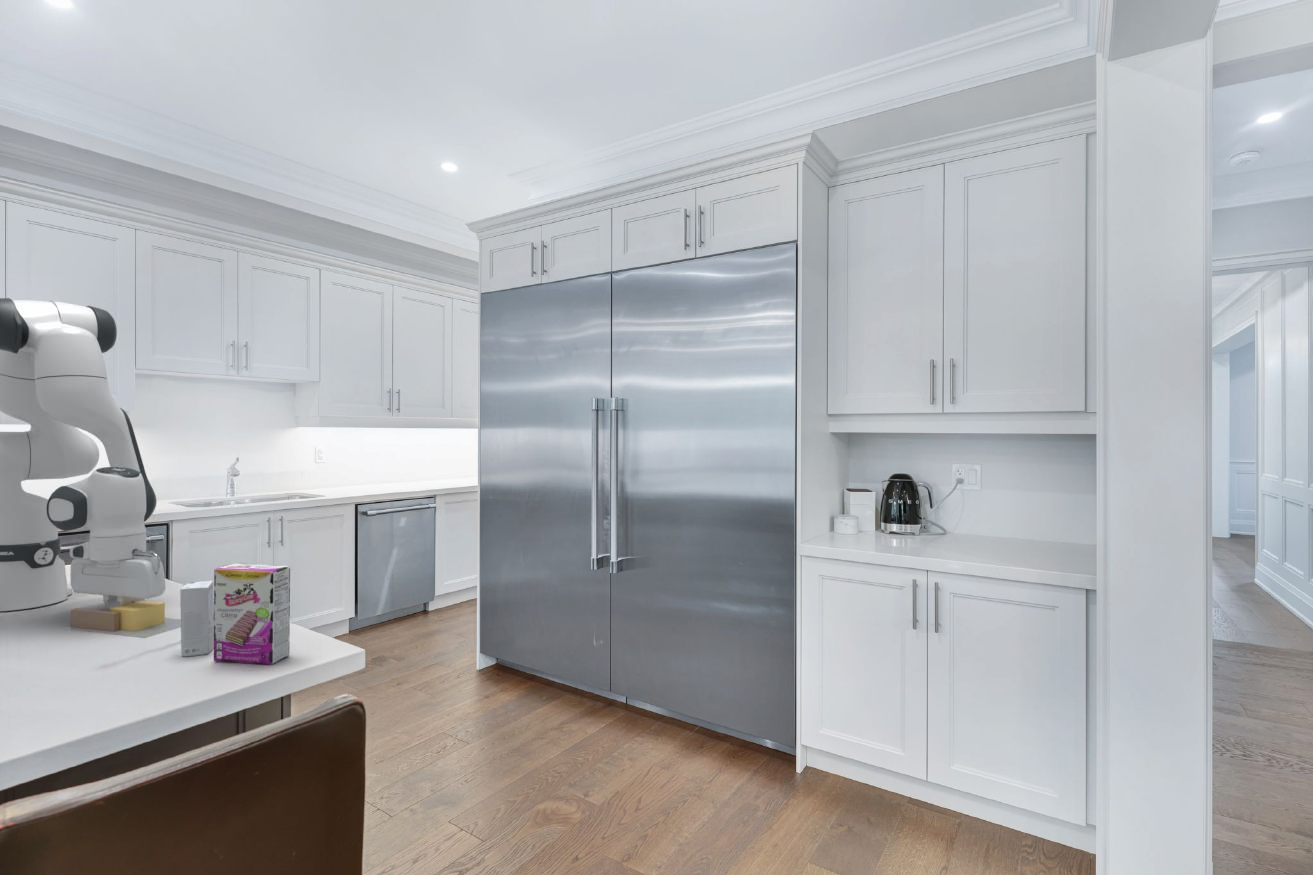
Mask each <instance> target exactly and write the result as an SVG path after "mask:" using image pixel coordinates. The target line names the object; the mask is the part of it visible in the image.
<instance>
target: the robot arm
mask: <svg viewBox="0 0 1313 875" xmlns="http://www.w3.org/2000/svg"><path fill="white" fill-rule="evenodd" d="M117 331H118V330H117V323H116V320H115V319H114V317H113V316H112V314H110V313H109V311H108V310H104V309H102V308H100V307H95V306H92V305H87V306H84V305H80V304H75V303H74V304H73V303H68V302H62V301H56V300H55V301H54V300H49V301H47V300H46V301H45V300H33V299H11V298H10V297H1V298H0V412H1V413H3V414H5V415H6V416H9V417H11V418H14V419H17V420H19V421H23V422H25V423H27V424H28V425H30V429H29V430H28V431H26V430H25V431H0V612H8V611H10V612H11V611H20V610H27V609H33V608H39V607H43V606H49V605H53V604H56V603H60V602H62V601H65V600H67V599H68V596H70V595H72V594H73V592H74V593H77V594H85V595H86V594H87V595H99V596H102V601H103V603H104V604H105V606H106V608H107V611H110V612H111V608H114V607H118V606H122V605H126V604H130V603H132V601H133V598H141V599H145V600H149V599H154V598H157V597H160V596H162V595H163V594H164V593H165V592H166V577H165V571H164V565H163V562H162V560H161V557H160V556H158V554H157V553H156V552H155V551H154V550H147V528H146V526H145V525H146V524H145V522H146V521H147V520H148V519H149V518H150V517H152V515H153V513H154V511H155V509H156V507H157V495H156V492H155V491H154V488H153V487H152V484H151V483H150V480H149V479H148V476H147V472H146V469H145V466H144V463H143V458H142V455H141V452H140V448H139V445H138V442H137V441H138V440H137V438H136V434H135V430H134V428H133V425H132V422H131V420H130V418H129V415H128V413H127V412H126V411H125V409H123V408H121V406H119V405H118V404H117V402H116V401H115V399H114V397H113V395H112V393H111V390H110V387H109V384H108V383H109V382H108V376H107V369H106V363H105V359H104V355H103V354H104V353H107V352H108V351H109V350H111V349H113V347H114V346H115V344H116V341H117V333H118V332H117ZM79 429H80V430H79ZM81 430H83V431H85V432H88V433H89V434H91V435H93V436H94V437H96V438H97V439H98V440H99V441H100V442H101V443H102V445H103V447H104V450H105V454H106V457H107V459H108V463H109V466H106V467H105V466H104V467H99V468H97V469H95V468H96V466H97V464H98V463H99V459H100V450H99V447H98V445H97V443H96V442H95V440H94V439H92V437H90V436H89V435H87V434H86V433H83V431H81ZM94 469H95V470H94ZM92 471H93V472H92ZM91 472H92V473H91ZM89 473H91V474H90V475H89ZM83 475H89V476H88V477H86V478H84V479H82V480H79V481H76V482H74V483H70V484H66V485H62V486H59V487H58V488H56V489H55V490H54V491H53V492H52V493H51V494H50V496H49V497H48V498H46V497H42V496H40V495H38V494H34V493H30V492H28V491H26V490H24V489H23V486H22V482H23V481H24V482H25V481H28V480H29V481H31V480H34V481H36V480H58V479H63V480H64V479H68V478H69V479H70V478H74V477H80V476H83ZM59 530H61V531H63V532H82V531H87V530H88V531H89V536H88V538H89V540H87V541H86V542H83V543H80V544H78V545H74V546H71V547H70V549H69V556H70V558H72V561H71V563H70V569H69V570H70V572H69V573H70V576H69V577H70V586H71V588H68V580H67V572H66V571H67V570H66V564H65V561H64V560H63V559H62V558H60V556H59V555H60V554H61V551H62V550H61V548H62V543H61V539H60V538H59ZM118 602H119V603H118Z"/></svg>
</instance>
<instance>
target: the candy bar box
mask: <svg viewBox="0 0 1313 875" xmlns="http://www.w3.org/2000/svg"><path fill="white" fill-rule="evenodd" d="M213 572H214V574H213V575H214V577H213V579H214V581H213V592H214V647H213V662H222V663H223V662H225V663H240V664H255V665H256V664H257V665H274V664H277V663H278V662H280V661H282V660H283V659H285V658H287V657H289V656H290V644H291V642H290V635H291V634H290V629H291V628H290V627H291V626H290V618H291V616H290V610H291V600H290V598H291V565H277V564H276V565H275V564H274V565H272V564H257V563H256V564H254V563H253V564H252V563H229V564H226V565H222V566H218V567H217V568H214V570H213Z"/></svg>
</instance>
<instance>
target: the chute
mask: <svg viewBox="0 0 1313 875" xmlns="http://www.w3.org/2000/svg"><path fill="white" fill-rule="evenodd" d="M138 601H140V600H133V601H132V603H134V602H138ZM150 602H152V601H150ZM118 603H119V602H118ZM179 628H181V618H180V619H179V618H170V617H165V623H161V624H158V625H154V626H151V627H148V628H144V629H141V630H137V631H127V630H119V612H110V611H108V610H99V609H91V608H90V609H88V608H80V607H79V608H78V607H76V608H71V609H70V626H69V627H66V628H65V630H69V631H70V630H71V631H78V632H79V631H80V632H86V633H87V632H88V633H95V634H96V633H97V634H105V635H114V636H123V637H132V638H140V639H141V638H142V639H146V638H151V637H153V636H156V635H160V634H163V633H166V632H170V631H173V630H176V629H179Z"/></svg>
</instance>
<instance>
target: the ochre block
mask: <svg viewBox="0 0 1313 875" xmlns="http://www.w3.org/2000/svg"><path fill="white" fill-rule="evenodd" d="M165 608H166V606H165V602H160V601H159V602H158V601H151V602H150V601H148V600H145V601H138V602H134V603H130V604H126V605H122V606H118V607H114V608H111V612H119V630H127V631H137V630H141V629H144V628H148V627H151V626H154V625H158V624H161V623H165V618H166V616H165V615H166V614H165V612H166V611H165Z"/></svg>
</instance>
